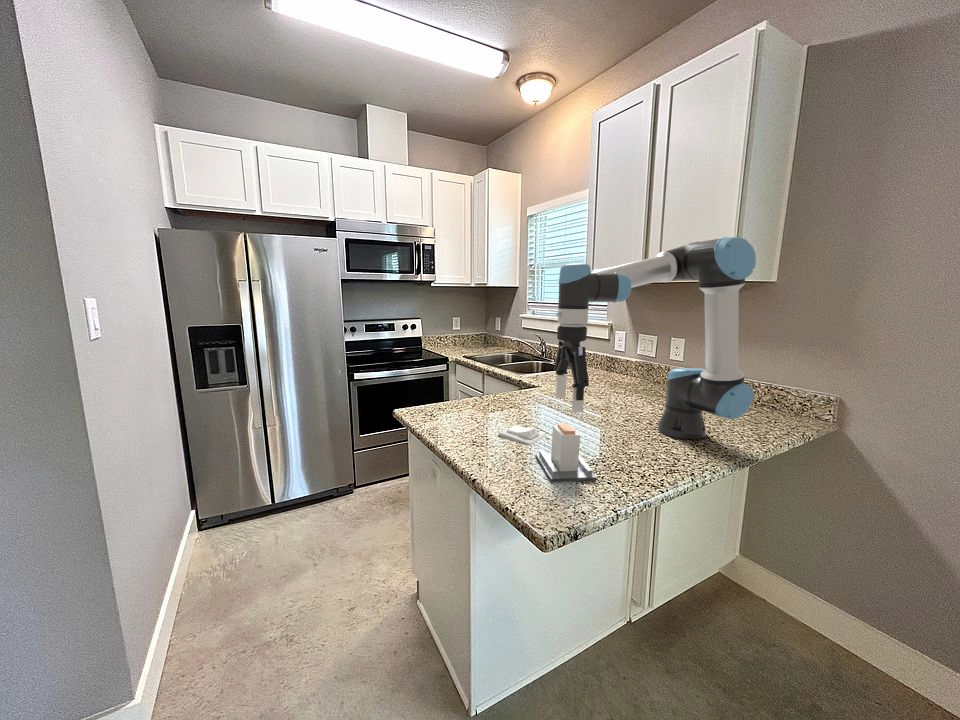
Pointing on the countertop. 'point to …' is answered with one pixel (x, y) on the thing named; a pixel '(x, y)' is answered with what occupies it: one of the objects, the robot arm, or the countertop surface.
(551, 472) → the rail
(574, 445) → the block
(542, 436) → the light switch
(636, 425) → the countertop surface
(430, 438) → the countertop surface
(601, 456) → the countertop surface
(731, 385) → the robot arm
